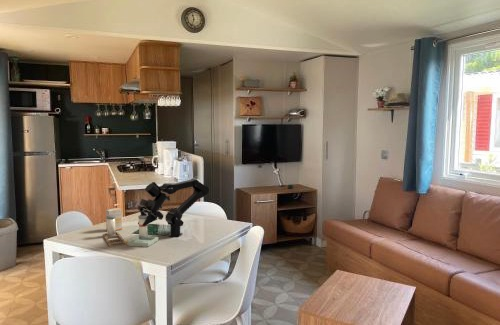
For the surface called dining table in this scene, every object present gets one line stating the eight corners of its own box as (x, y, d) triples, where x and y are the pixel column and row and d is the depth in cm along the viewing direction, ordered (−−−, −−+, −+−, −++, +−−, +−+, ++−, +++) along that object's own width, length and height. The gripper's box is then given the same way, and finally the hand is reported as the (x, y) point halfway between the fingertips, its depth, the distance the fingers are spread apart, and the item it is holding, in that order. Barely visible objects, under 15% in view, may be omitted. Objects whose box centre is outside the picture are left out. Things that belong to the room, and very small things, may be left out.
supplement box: (118, 228, 242) (118, 207, 241) (122, 229, 239) (121, 208, 237) (106, 230, 236) (105, 209, 235) (109, 231, 233) (108, 210, 232)
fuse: (110, 234, 226) (109, 214, 225) (117, 235, 225) (117, 215, 224) (105, 237, 222) (104, 216, 221) (112, 237, 221) (112, 217, 220)
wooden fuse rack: (102, 235, 225) (102, 233, 225) (121, 233, 230) (121, 231, 230) (109, 246, 204) (109, 244, 204) (129, 243, 209) (129, 241, 209)
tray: (138, 239, 217) (138, 235, 217) (158, 240, 215) (158, 237, 215) (127, 245, 206) (127, 241, 206) (148, 247, 203) (148, 243, 203)
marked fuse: (139, 236, 212) (139, 214, 211) (148, 235, 213) (148, 214, 212) (138, 238, 208) (137, 216, 206) (147, 238, 208) (146, 216, 207)
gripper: (139, 191, 217) (122, 213, 210) (158, 195, 204) (140, 219, 197) (152, 203, 224) (135, 225, 217) (170, 207, 211) (153, 231, 204)
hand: (140, 225), depth 208 cm, fingers closed on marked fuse, 4 cm apart
